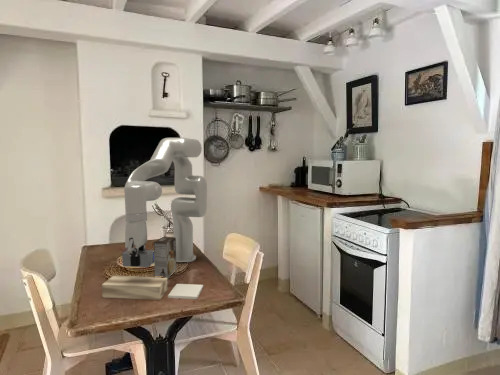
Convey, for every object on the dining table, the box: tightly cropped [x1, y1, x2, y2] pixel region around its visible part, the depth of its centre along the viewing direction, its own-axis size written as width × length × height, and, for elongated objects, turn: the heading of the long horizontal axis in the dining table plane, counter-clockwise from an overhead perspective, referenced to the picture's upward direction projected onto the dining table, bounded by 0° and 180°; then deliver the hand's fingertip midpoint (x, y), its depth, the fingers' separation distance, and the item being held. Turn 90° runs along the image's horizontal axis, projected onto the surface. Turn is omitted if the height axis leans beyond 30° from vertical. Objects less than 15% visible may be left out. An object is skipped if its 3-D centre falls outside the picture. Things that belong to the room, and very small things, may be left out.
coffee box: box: [153, 236, 177, 280], centre depth 148 cm, size 9×6×16 cm
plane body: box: [101, 275, 169, 301], centre depth 129 cm, size 9×22×5 cm, turn 85°
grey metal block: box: [121, 249, 154, 268], centre depth 129 cm, size 5×10×5 cm, turn 85°
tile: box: [167, 283, 204, 300], centre depth 131 cm, size 11×11×1 cm
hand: (138, 262), depth 129 cm, fingers closed on grey metal block, 5 cm apart
